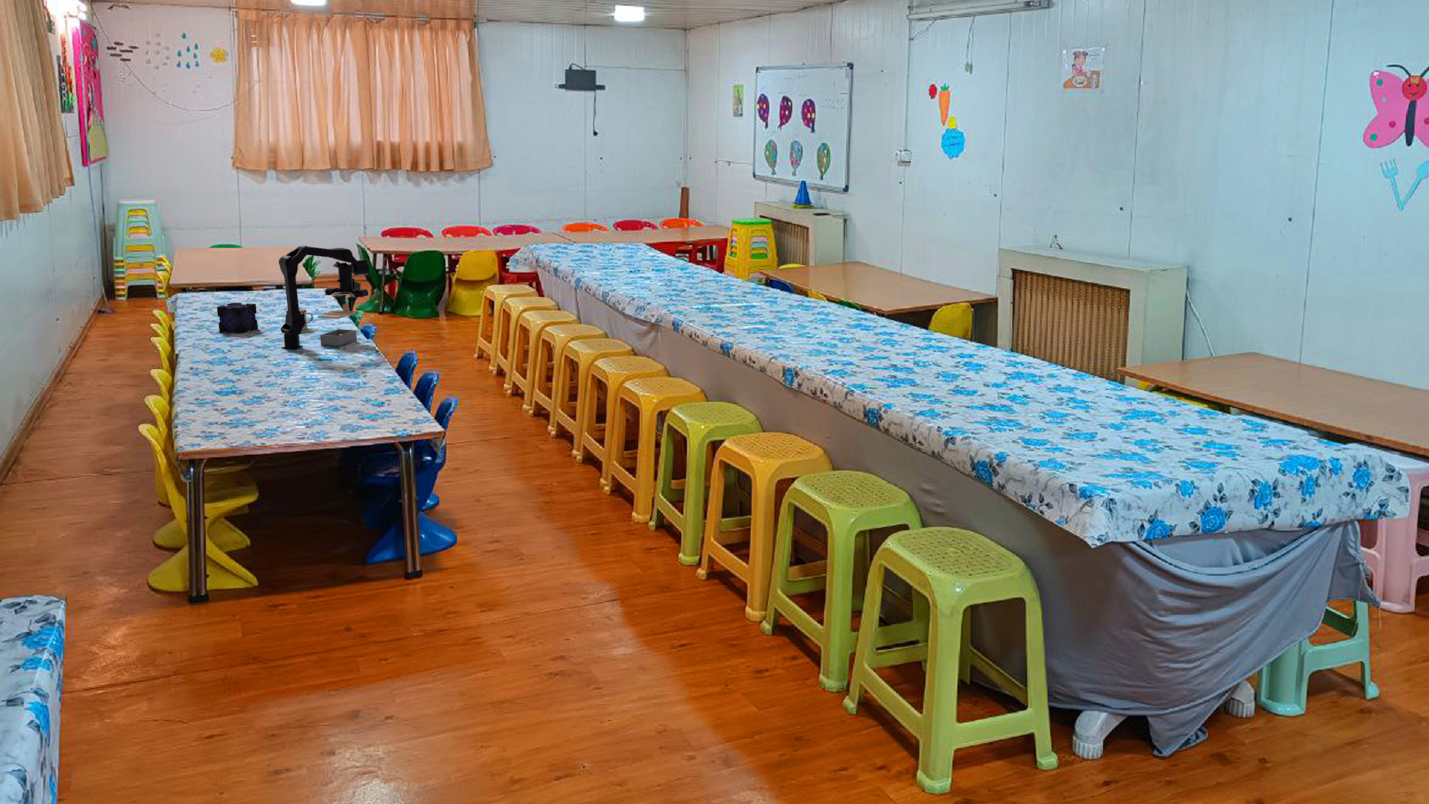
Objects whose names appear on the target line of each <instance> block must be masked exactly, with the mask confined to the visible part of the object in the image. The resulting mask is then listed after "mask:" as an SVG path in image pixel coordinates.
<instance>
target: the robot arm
mask: <svg viewBox="0 0 1429 804" xmlns="http://www.w3.org/2000/svg"><path fill="white" fill-rule="evenodd" d="M307 256H313V257H321V258H322V257H323V258H330V259H334V260H337V261H335V263H334V264H333V265H332V267H334V268H337V269H338V270H337V272H338V278H337V279H336V280H337V281H336V282H337V283H339V286H338V287H334V286H331V287H327V288H326V289H325V290H324V295H325V296H333V298H335V300H336V301H337V302H338V304H339V305H340V307H341V309H342V310H343V304H346V297H347V302H348V303H349V309H350V311H354V307H355V304H356V301H357V299H358V298H364V297H367V296H369V290H368V289H367V288H361V283H360V282H358V281H356V280H355V278H354V277H353V275H354V276H364V275H365V276H366V275H367V276H368V275H369V274H370V267H369V264H368V262H367V259H363V258H361V259H358V260H357V259H356V257H355V256H354V255H353V251H352V250H351V249H348V248H344V247H333V248H322V247H317V246H316V247H315V246H307V245H304V244H303V245H302V244H301V245H298V247H296V248H295V249H293V250H291V251H290V252H288V253H286V254H285V255H282V256H281V257H280V258H279V260H278V265H279V268H280V271H281V274H282V276H283V278H284V286H285V287H284V288H285V296H286V297H285V298H286V306H287V309H288V310H287V309H286V310H287V313H286V312H285V313H286V314H285V320H284V324H283V325H282V326H281V327H280V331H281V333H282V334H283V341H284V343H283V344H284V345H283V346H282V347H281V349H286V350H296V349H300V348H302V347H304V345H303V344H301V341H300V335H302V331H303V330H302V328H303V327H304V323H306V322H305V314H304V313H301V312H300V310H299V307H300V305H299V297H298V296H299V295H298V287H297V274H298V271H299V264H301V263H302V262H303V261H304V259H305V258H306V257H307ZM340 261H341V262H340ZM347 295H349V296H347Z"/></svg>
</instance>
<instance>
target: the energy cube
mask: <svg viewBox="0 0 1429 804" xmlns="http://www.w3.org/2000/svg"><path fill="white" fill-rule="evenodd" d="M216 313H217V317H219V322H218V323H217V324H218V331H219V333H222V332H227V333H226V334H228V332H229V333H233V334H237V335H238V334H239V335H242V334H247V333H248V332H249V331H256V330H259V325H258V319H257V318H256V317H257V316H256V314H257V313H258V311H257V304H256V303H248V302H247V303H245V304H243V303H242V302H230V303H227V305H219V306H216ZM246 332H247V333H246Z"/></svg>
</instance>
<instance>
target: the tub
mask: <svg viewBox="0 0 1429 804" xmlns="http://www.w3.org/2000/svg"><path fill="white" fill-rule="evenodd" d="M319 338H320V339H319V340H320V347H328V348H341V347H344V346H348V345H350V344H353V343H355V342H354V341H356V342H357V341H358V338H357V329H343V328H337V329H335V330H331V331H329V332H324V333H322V334H320V335H319ZM347 344H348V345H347Z"/></svg>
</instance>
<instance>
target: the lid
mask: <svg viewBox="0 0 1429 804" xmlns="http://www.w3.org/2000/svg"><path fill="white" fill-rule="evenodd" d="M355 314H357V311H355V310H353V311H350V309H349V303H346V302H345V304H343V309H342V310H340V309H339V310H330V312H324V313H323V314H319V315H317V318H318V319H328V320H329V319H331V320H339V319H342V318H346V317H349V316H353V315H355Z"/></svg>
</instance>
